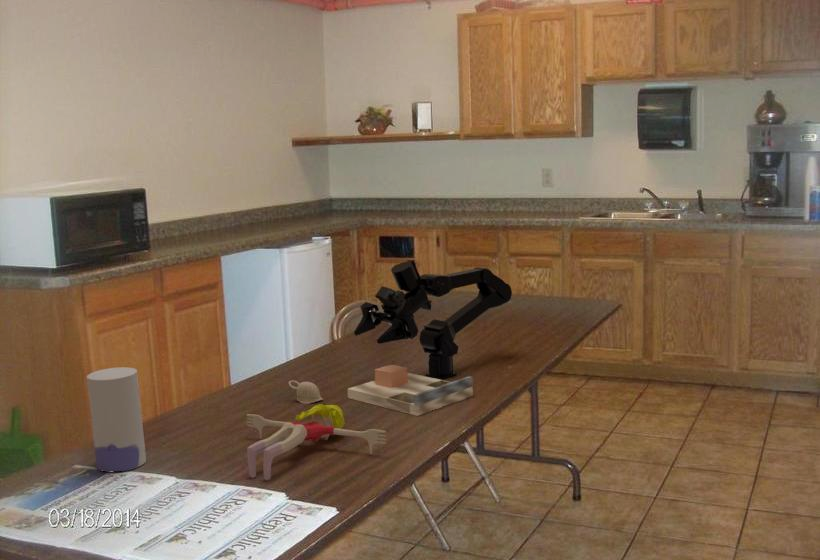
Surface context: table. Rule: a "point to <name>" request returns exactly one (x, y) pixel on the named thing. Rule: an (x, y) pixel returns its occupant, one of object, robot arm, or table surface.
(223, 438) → the table surface
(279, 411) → the table surface
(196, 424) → the table surface
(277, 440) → the toy
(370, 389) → the tray
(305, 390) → the beige domed piece
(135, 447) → the container
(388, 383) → the terracotta block
